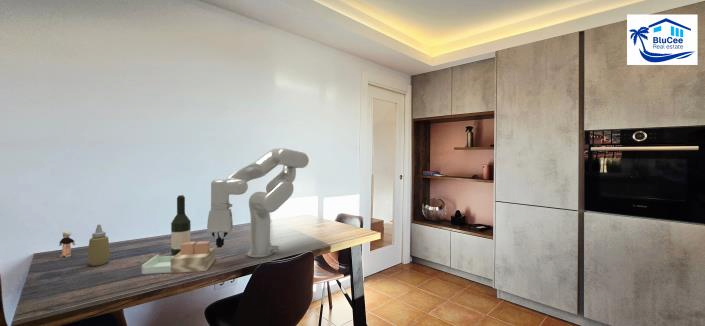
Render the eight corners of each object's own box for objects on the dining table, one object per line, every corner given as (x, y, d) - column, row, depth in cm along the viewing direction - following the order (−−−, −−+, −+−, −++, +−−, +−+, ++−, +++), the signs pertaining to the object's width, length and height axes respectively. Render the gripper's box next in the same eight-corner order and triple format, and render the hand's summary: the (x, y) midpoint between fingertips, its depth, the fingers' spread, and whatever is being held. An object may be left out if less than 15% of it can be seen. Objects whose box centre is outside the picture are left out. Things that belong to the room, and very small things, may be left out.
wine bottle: (181, 258, 141) (181, 196, 141) (167, 257, 142) (166, 196, 142) (194, 253, 149) (194, 194, 149) (180, 252, 151) (180, 194, 150)
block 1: (196, 251, 133) (196, 241, 132) (192, 254, 129) (192, 244, 129) (184, 252, 132) (184, 242, 132) (180, 254, 128) (180, 244, 128)
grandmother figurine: (54, 258, 141) (54, 232, 141) (60, 255, 145) (60, 230, 145) (73, 257, 143) (72, 231, 143) (78, 254, 146) (78, 229, 146)
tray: (183, 261, 136) (183, 253, 136) (170, 273, 122) (170, 263, 122) (157, 263, 134) (157, 254, 134) (141, 274, 120) (141, 265, 120)
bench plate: (215, 259, 139) (215, 247, 139) (206, 270, 125) (206, 256, 125) (183, 261, 136) (183, 248, 136) (170, 273, 122) (170, 258, 122)
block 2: (210, 250, 134) (210, 240, 134) (207, 253, 130) (207, 243, 130) (198, 251, 133) (198, 241, 133) (195, 254, 129) (195, 243, 129)
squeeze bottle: (114, 262, 136) (114, 223, 135) (94, 268, 128) (94, 227, 128) (103, 260, 138) (103, 222, 138) (82, 265, 131) (82, 226, 130)
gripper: (239, 205, 137) (238, 243, 137) (205, 205, 135) (205, 245, 135) (235, 207, 130) (235, 248, 130) (199, 208, 127) (199, 250, 127)
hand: (220, 246), depth 132 cm, fingers closed
